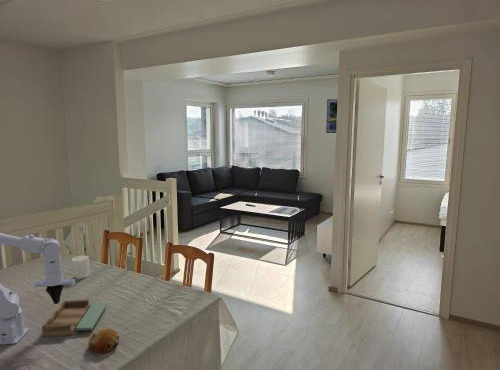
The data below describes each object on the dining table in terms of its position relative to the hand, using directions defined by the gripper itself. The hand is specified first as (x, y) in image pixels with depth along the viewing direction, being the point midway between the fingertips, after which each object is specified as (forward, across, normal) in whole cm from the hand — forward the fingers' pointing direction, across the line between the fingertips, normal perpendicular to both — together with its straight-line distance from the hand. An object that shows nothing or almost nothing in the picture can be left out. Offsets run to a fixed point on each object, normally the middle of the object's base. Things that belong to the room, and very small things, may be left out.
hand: (56, 302), depth 137 cm
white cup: (+10, +8, -47) cm, 49 cm away
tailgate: (+7, -9, -2) cm, 12 cm away
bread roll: (+10, -22, +16) cm, 29 cm away
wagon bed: (+9, -3, -2) cm, 10 cm away
